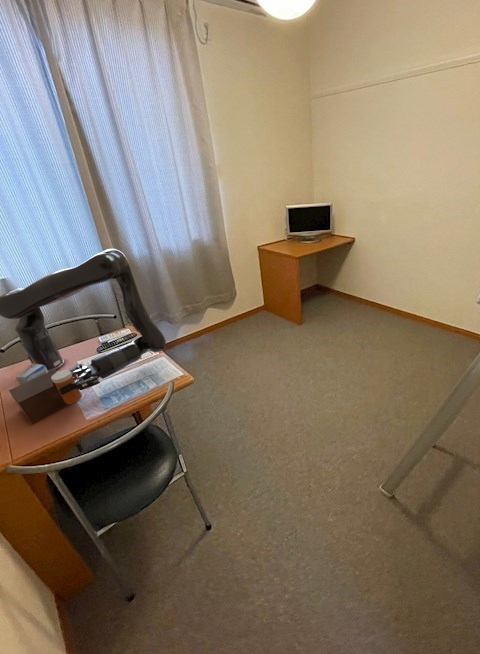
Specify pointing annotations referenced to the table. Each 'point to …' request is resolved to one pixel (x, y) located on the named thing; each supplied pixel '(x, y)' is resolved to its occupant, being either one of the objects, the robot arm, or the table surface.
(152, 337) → the robot arm
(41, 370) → the medicine box
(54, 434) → the table surface
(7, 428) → the table surface
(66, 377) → the pill bottle
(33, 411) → the dark brown box
